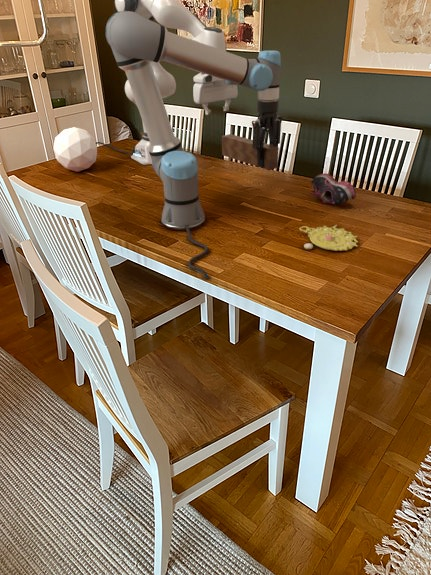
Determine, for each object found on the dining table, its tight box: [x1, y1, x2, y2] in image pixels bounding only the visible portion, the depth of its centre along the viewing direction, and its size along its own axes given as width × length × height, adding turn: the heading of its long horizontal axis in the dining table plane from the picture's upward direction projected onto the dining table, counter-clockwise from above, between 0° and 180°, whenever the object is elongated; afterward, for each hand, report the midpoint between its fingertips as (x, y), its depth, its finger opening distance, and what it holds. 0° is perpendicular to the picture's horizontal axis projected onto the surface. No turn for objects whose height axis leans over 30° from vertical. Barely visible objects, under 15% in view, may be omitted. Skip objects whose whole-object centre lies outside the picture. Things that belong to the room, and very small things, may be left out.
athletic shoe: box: [309, 173, 357, 206], centre depth 167 cm, size 11×22×12 cm
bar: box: [221, 133, 280, 171], centre depth 174 cm, size 28×5×8 cm, turn 39°
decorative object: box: [299, 224, 359, 252], centre depth 141 cm, size 21×2×20 cm
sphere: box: [52, 126, 98, 173], centre depth 205 cm, size 19×20×20 cm
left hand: (217, 112), depth 179 cm, fingers open, 8 cm apart
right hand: (265, 165), depth 169 cm, fingers closed on bar, 5 cm apart
